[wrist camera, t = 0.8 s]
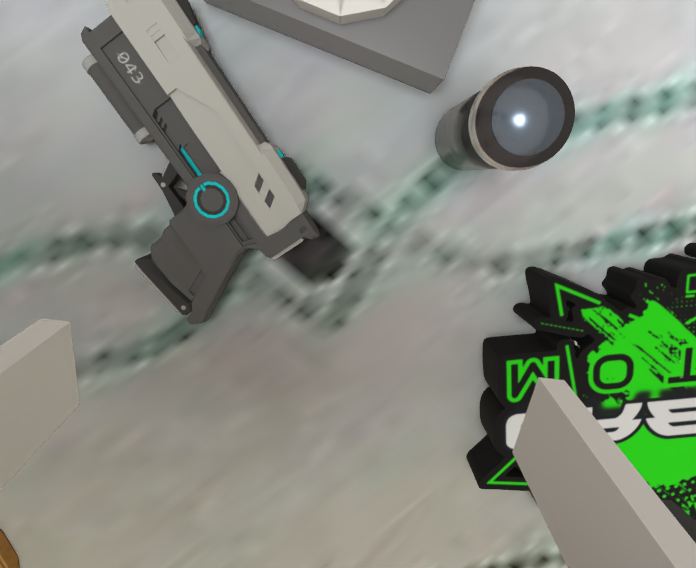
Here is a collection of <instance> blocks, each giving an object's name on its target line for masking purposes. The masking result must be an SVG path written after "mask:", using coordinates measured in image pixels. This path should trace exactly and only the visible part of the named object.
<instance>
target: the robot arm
mask: <svg viewBox="0 0 696 568" xmlns="http://www.w3.org/2000/svg"><path fill="white" fill-rule="evenodd" d="M79 405H80V403H79V395H78V386H77V377H76V368H75V359H74V350H73V341H72V333H71V324H70V322H68V321H60V320H52V319H43V318H41V319H40V320H38V321H37V322H35V323H34V324H32V325H31V326H29V327H28V328H26V329H25V330H23V331H22V332H20V333H19V334H17V335H16V336H14V337H13V338H11V339H10V340H8V341H7V342H5V343H4V344H2V345H1V346H0V491H1V490H2V488H3V487H4V486H5V485H6V484H7V483H8V482H9V481H10V480H11V479H12V478H13V477H14V475H15V474H16V473H17V472H18V471H19V470H20V469H21V468H22V467H23V466H24V465H25V464H26V462H27V461H28V460H29V459H30V458H31V457H32V456H33V455H34V454H35V453H36V452H37V451H38V449H39V448H40V447H41V446H42V445H43V444H44V443H45V442H46V441H47V440H48V439H49V438H50V436H51V435H52V434H53V433H54V432H55V431H56V430H57V429H58V428H59V427H60V426H61V424H62V423H63V422H64V421H65V420H66V419H67V418H68V417H69V416H70V415H71V414H72V413H73V411H74V410H75V409H76V408H77V407H78V406H79ZM512 453H513V455H514V457H515V459H516V461H517V463H518V465H519V467H520V469H521V471H522V473H523V476H524V478H525V480H526V482H527V484H528V486H529V488H530V490H531V492H532V494H533V496H534V498H535V500H536V503H537V505H538V507H539V509H540V511H541V513H542V515H543V517H544V519H545V521H546V523H547V525H548V528H549V530H550V532H551V534H552V536H553V538H554V540H555V542H556V544H557V546H558V548H559V550H560V552H561V555H562V557H563V559H564V561H565V563H566V565H567V567H568V568H696V520H695V519H693V518H692V517H691V516H690V515H688V514H687V513H686V512H685V511H683V510H682V509H681V508H680V507H679V506H677V505H676V504H675V503H674V502H672V501H671V500H664V499H660V498H659V497H658V496H657V495H656V493H655V492H654V491H653V490H652V488H651V487H650V486H649V485H648V483H647V482H646V481H645V480H644V478H643V477H642V476H641V475H640V474H639V472H638V471H637V470H636V469H635V467H634V466H633V465H632V464H631V462H630V461H629V460H628V459H627V457H626V456H625V455H624V454H623V452H622V451H621V450H620V449H619V447H618V446H617V445H616V444H615V442H614V441H613V440H612V439H611V438H610V436H609V435H608V434H607V433H606V431H605V430H604V429H603V428H602V426H601V425H600V424H599V423H598V421H597V420H596V419H595V418H594V416H593V415H592V414H591V413H590V411H589V410H588V409H587V408H586V406H585V405H584V404H583V403H582V402H581V400H580V399H579V398H578V397H577V395H576V394H575V393H574V392H573V390H572V389H571V388H570V387H569V385H568V384H567V383H566V382H565V380H558V379H549V378H541V377H538V380H537V383H536V386H535V389H534V392H533V395H532V397H531V400H530V403H529V406H528V409H527V412H526V415H525V417H524V420H523V423H522V426H521V429H520V432H519V435H518V437H517V440H516V443H515V446H514V449H513V452H512Z"/></svg>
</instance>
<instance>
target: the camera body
mask: <svg viewBox="0 0 696 568" xmlns="http://www.w3.org/2000/svg"><path fill="white" fill-rule="evenodd" d="M204 1H205V2H206V3H208V4H210V5H213V6H215V7H218V8H220V9H223V10H225V11H228V12H230V13H233V14H235V15H238V16H240V17H242V18H245V19H247V20H250V21H252V22H255V23H257V24H260V25H262V26H265V27H267V28H270V29H272V30H275V31H277V32H280V33H282V34H284V35H287V36H289V37H292V38H294V39H297V40H299V41H302V42H304V43H307V44H309V45H312V46H314V47H317V48H319V49H322V50H324V51H327V52H329V53H331V54H334V55H336V56H339V57H341V58H344V59H346V60H349V61H351V62H354V63H356V64H359V65H361V66H364V67H366V68H369V69H371V70H373V71H376V72H378V73H381V74H383V75H386V76H388V77H391V78H393V79H396V80H398V81H401V82H403V83H406V84H408V85H411V86H413V87H415V88H418V89H420V90H423V91H425V92H428V93H431V92H432V91H433V90H434V89H435V88H436V87H437V86H438V85H439V84H440V83H441V82H442V81H443V80H444V78H445V75H446V73H447V70H448V68H449V65H450V63H451V60H452V57H453V55H454V52H455V50H456V47H457V45H458V42H459V39H460V37H461V34H462V32H463V29H464V27H465V24H466V22H467V19H468V16H469V14H470V11H471V9H472V6H473V4H474V1H475V0H204Z"/></svg>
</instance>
